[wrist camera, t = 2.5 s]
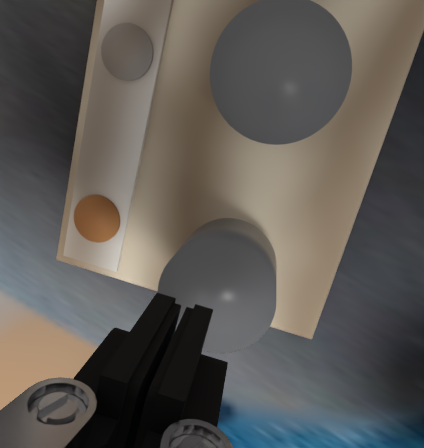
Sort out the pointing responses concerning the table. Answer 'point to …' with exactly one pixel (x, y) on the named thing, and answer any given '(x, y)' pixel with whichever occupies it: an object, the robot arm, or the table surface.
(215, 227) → the button
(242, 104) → the button middle
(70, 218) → the button board
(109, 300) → the table surface
